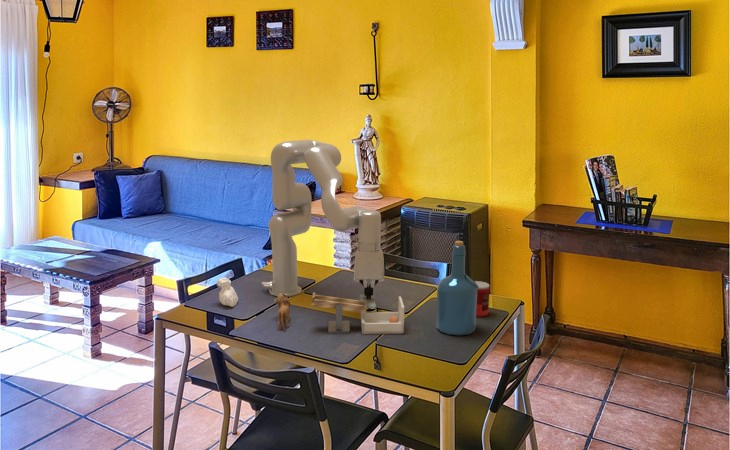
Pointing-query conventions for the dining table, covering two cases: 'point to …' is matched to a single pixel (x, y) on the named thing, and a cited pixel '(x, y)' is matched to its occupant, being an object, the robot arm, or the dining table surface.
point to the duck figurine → (227, 292)
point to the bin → (383, 321)
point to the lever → (344, 303)
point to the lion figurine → (283, 309)
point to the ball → (393, 319)
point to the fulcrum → (338, 322)
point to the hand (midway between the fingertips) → (368, 297)
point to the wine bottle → (457, 298)
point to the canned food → (482, 299)
